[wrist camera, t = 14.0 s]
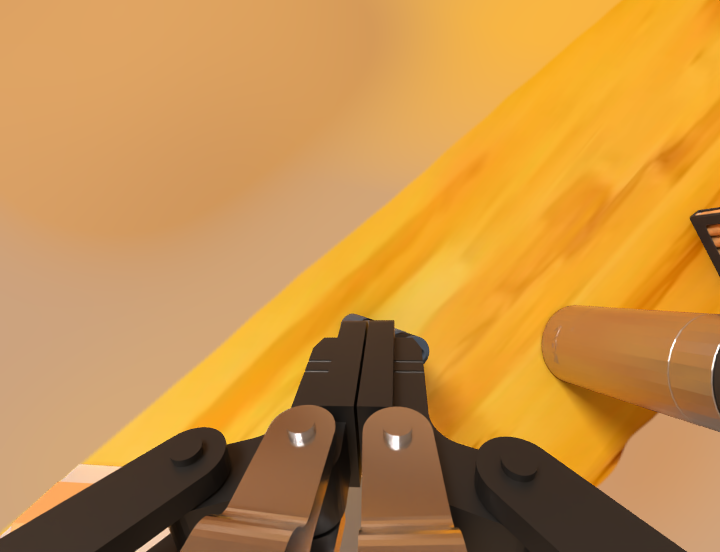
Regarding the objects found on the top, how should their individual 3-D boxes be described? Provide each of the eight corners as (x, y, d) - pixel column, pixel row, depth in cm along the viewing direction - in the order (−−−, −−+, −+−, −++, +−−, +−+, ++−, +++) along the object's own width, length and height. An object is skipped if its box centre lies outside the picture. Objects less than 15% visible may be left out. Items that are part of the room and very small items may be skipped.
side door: (272, 490, 35) (272, 611, 22) (75, 479, 32) (-65, 616, 19) (276, 469, 35) (278, 576, 22) (80, 455, 32) (-55, 575, 19)
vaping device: (382, 349, 39) (429, 376, 27) (335, 334, 38) (363, 355, 26) (390, 325, 39) (440, 342, 27) (343, 310, 38) (375, 320, 26)
